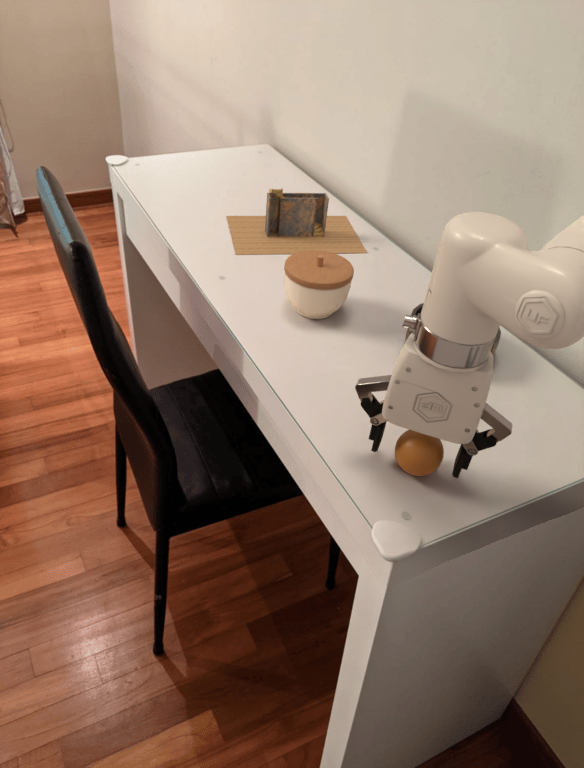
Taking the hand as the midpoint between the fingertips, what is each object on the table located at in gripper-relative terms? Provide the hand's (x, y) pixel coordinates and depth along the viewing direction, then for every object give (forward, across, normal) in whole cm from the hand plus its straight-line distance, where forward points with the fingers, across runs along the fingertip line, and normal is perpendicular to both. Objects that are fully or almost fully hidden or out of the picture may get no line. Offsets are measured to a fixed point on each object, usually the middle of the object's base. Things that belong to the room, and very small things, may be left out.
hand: (416, 456), depth 72 cm
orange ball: (+2, 0, 0) cm, 2 cm away
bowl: (+2, 0, +27) cm, 27 cm away
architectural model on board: (+2, -34, +52) cm, 62 cm away
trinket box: (+2, -22, +28) cm, 35 cm away
